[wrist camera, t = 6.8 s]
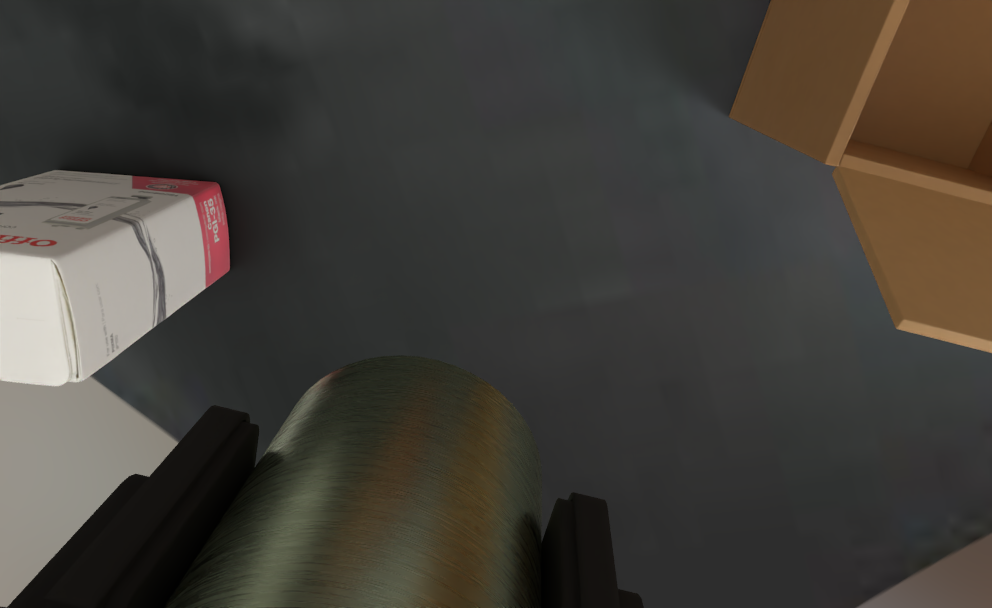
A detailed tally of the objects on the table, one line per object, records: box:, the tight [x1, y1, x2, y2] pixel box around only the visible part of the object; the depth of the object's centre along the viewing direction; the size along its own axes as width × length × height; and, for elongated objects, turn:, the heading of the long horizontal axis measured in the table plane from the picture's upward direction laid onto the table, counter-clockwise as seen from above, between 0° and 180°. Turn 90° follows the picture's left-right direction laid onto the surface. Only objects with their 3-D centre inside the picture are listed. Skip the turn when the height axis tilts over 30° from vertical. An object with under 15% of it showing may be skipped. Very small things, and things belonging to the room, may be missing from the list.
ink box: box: [0, 170, 230, 386], centre depth 28 cm, size 9×5×12 cm, turn 86°
